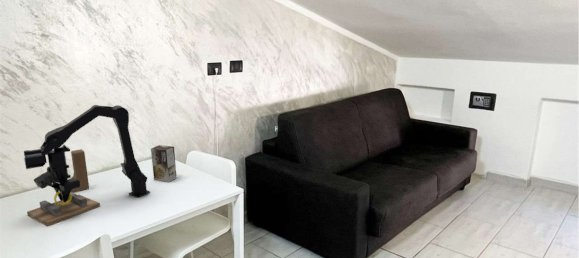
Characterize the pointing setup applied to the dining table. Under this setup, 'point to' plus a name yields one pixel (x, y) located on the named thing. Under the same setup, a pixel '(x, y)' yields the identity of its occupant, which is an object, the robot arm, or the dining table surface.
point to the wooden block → (79, 169)
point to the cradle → (62, 209)
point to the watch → (64, 202)
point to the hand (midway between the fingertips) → (63, 201)
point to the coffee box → (163, 163)
